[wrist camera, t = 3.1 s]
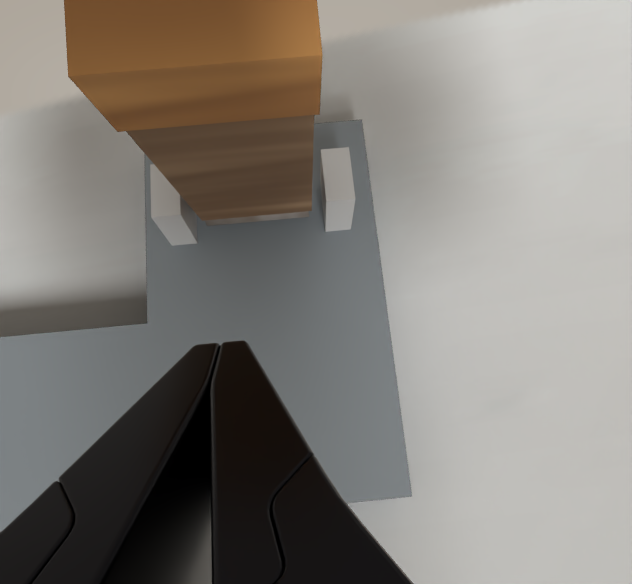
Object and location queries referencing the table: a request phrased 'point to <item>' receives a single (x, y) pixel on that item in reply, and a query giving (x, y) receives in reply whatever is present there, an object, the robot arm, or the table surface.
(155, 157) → the orange capped lever
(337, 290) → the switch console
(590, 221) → the table surface
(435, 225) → the table surface
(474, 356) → the table surface
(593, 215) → the table surface
